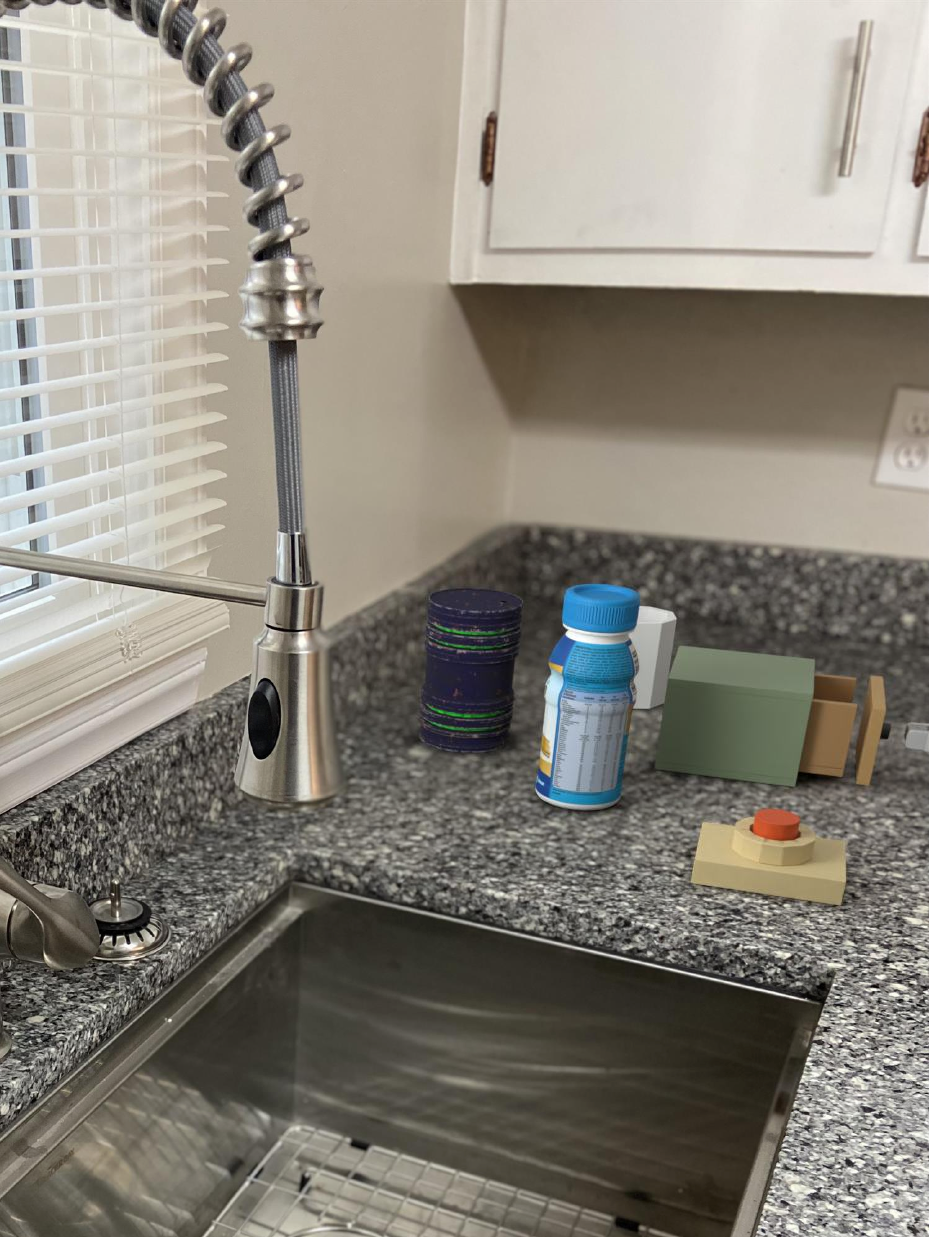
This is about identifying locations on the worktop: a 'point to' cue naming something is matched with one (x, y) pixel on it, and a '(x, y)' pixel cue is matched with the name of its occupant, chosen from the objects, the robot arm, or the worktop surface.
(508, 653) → the storage jar
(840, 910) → the worktop surface
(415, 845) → the worktop surface
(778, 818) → the button
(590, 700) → the beverage bottle
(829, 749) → the drawer
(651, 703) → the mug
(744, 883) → the control block
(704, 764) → the cabinet
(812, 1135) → the worktop surface
